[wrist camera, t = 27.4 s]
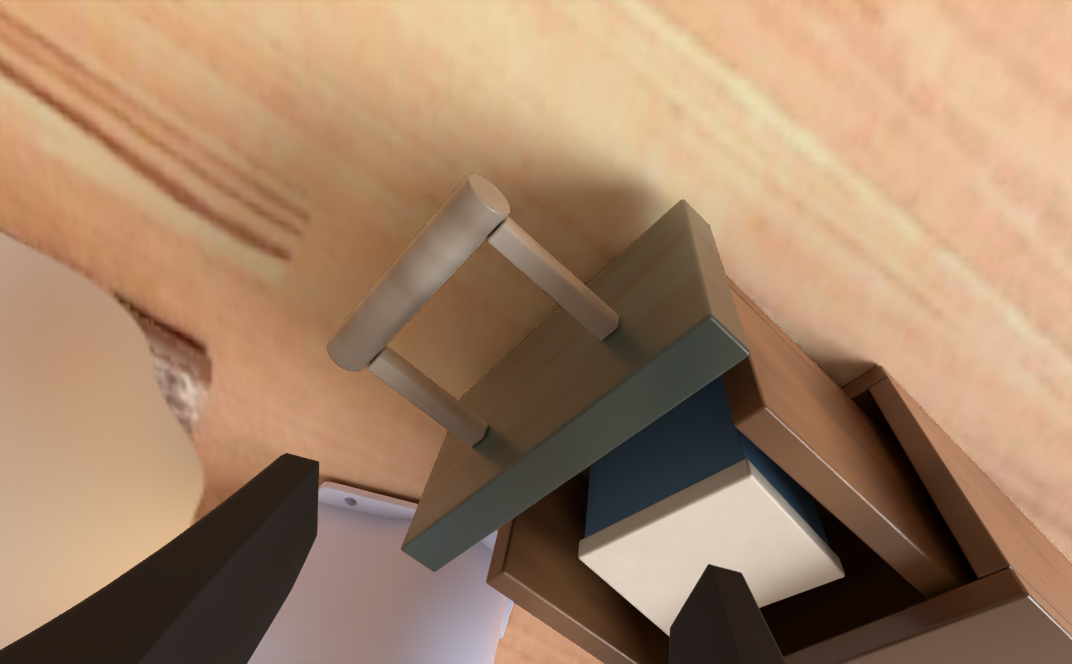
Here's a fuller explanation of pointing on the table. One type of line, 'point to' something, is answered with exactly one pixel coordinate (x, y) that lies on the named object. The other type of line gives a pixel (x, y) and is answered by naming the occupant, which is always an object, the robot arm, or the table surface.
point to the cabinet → (988, 544)
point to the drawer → (637, 427)
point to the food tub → (700, 513)
